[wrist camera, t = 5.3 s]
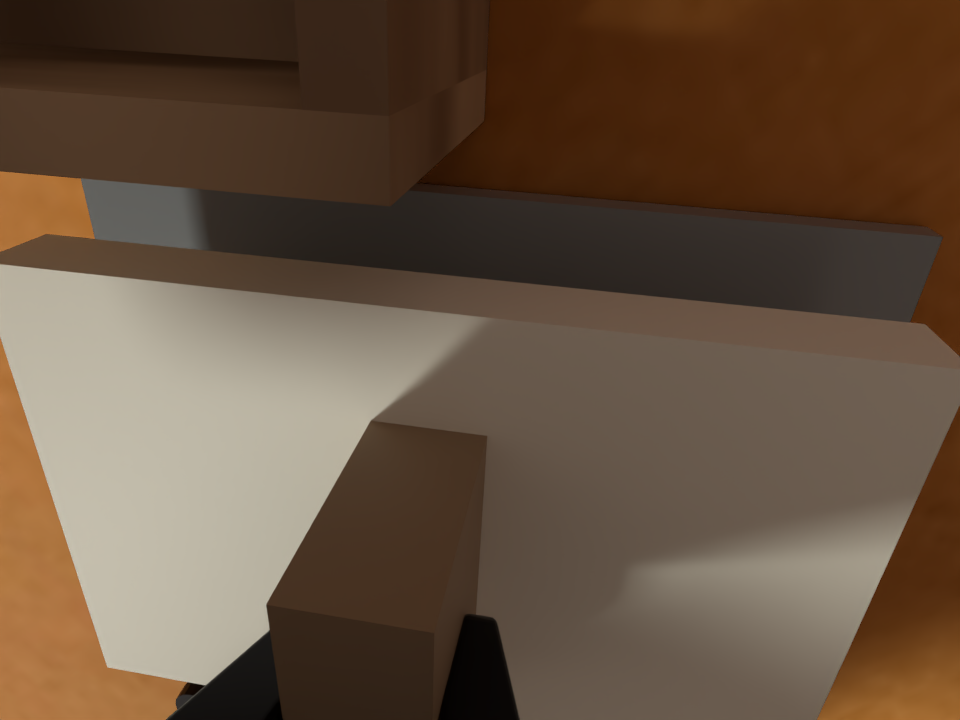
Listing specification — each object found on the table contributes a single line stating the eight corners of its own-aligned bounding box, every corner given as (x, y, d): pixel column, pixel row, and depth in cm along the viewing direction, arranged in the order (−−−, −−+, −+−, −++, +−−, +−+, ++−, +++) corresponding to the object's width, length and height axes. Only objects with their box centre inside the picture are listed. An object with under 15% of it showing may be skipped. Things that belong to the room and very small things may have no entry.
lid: (891, 293, 9) (1210, 591, 4) (754, 671, 12) (845, 1054, 8) (94, 215, 10) (-318, 375, 6) (176, 575, 14) (-35, 854, 9)
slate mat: (769, 649, 14) (774, 670, 13) (185, 555, 15) (173, 571, 15) (927, 227, 9) (943, 236, 9) (97, 156, 11) (77, 161, 11)
